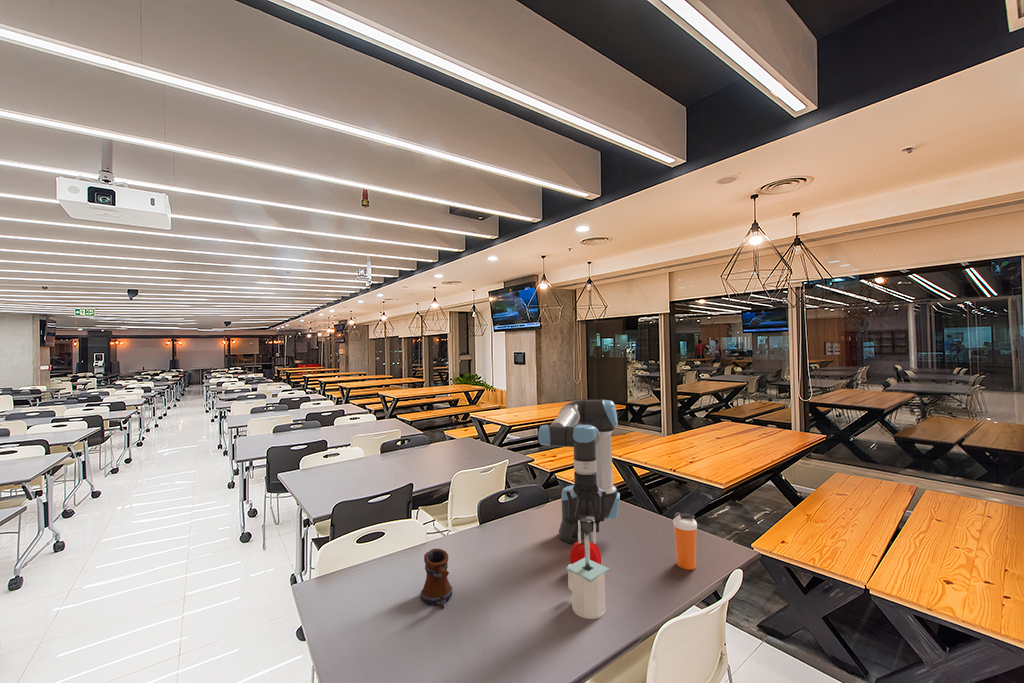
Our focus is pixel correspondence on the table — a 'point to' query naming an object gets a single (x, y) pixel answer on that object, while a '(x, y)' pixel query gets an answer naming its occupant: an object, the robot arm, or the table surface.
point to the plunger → (587, 539)
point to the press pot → (587, 589)
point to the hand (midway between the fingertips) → (587, 541)
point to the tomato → (579, 552)
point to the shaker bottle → (685, 540)
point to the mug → (436, 578)
